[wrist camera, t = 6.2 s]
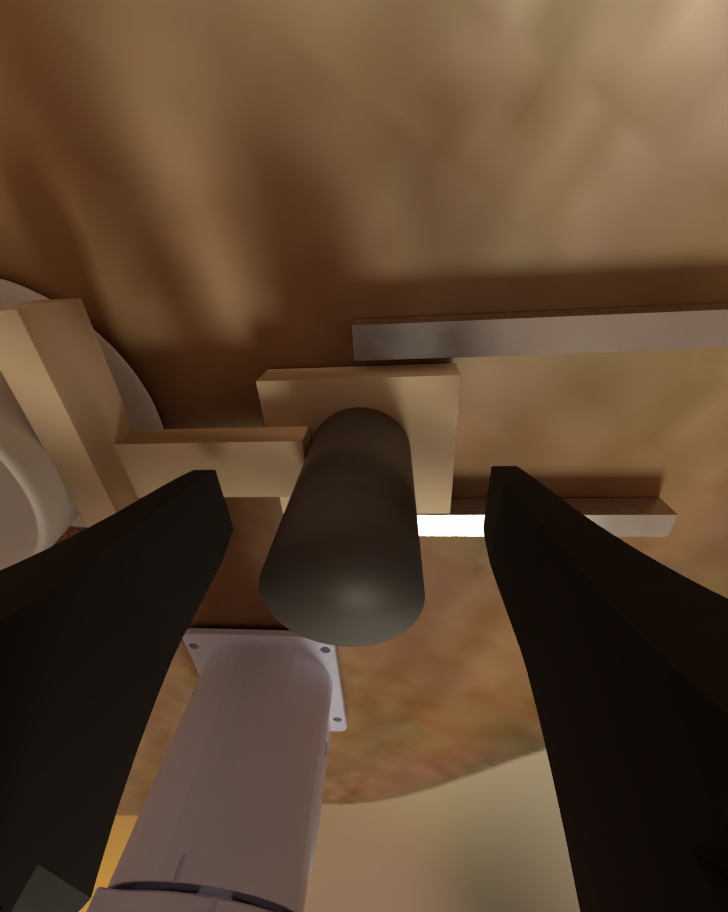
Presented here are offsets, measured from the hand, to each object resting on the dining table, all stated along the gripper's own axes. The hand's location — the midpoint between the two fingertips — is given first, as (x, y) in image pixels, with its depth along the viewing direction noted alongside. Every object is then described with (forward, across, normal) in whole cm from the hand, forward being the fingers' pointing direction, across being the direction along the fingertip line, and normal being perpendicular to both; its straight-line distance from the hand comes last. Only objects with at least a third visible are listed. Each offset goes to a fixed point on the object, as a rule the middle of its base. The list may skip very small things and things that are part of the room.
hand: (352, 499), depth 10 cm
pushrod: (+4, +3, 0) cm, 5 cm away
